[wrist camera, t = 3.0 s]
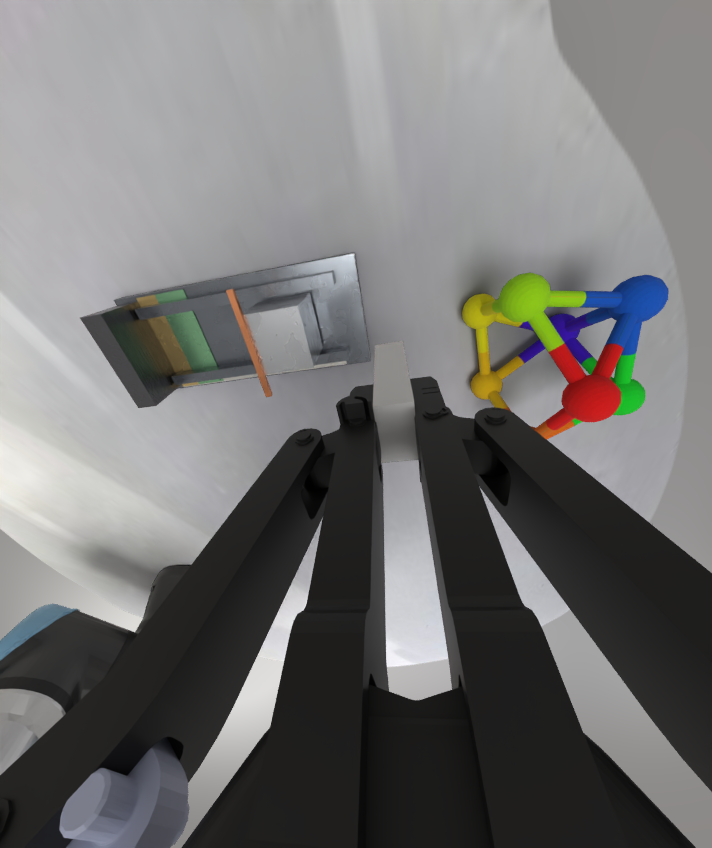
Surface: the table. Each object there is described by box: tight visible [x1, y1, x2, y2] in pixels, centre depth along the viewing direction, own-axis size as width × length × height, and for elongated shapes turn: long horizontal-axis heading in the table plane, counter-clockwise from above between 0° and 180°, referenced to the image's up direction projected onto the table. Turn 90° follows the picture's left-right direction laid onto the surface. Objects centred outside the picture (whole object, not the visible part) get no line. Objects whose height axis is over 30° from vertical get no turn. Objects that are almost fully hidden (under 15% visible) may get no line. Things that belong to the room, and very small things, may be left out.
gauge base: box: [80, 252, 371, 408], centre depth 29 cm, size 24×10×6 cm, turn 100°
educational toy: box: [462, 273, 668, 440], centre depth 24 cm, size 16×13×15 cm
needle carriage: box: [226, 289, 323, 397], centre depth 27 cm, size 5×9×6 cm, turn 10°
